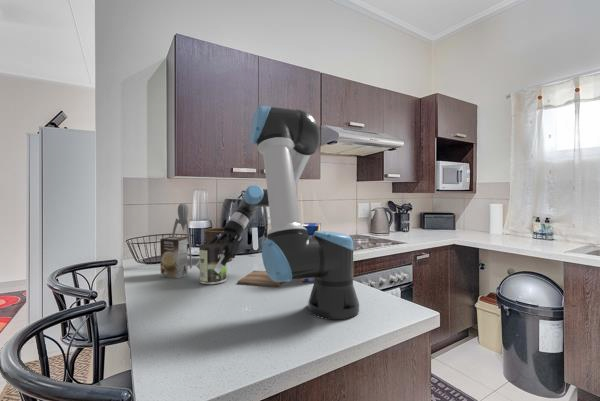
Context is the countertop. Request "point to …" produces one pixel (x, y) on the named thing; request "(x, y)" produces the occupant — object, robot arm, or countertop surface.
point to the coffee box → (173, 257)
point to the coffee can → (211, 263)
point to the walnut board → (258, 279)
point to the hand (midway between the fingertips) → (206, 269)
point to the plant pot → (211, 233)
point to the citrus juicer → (183, 223)
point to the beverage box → (310, 231)
